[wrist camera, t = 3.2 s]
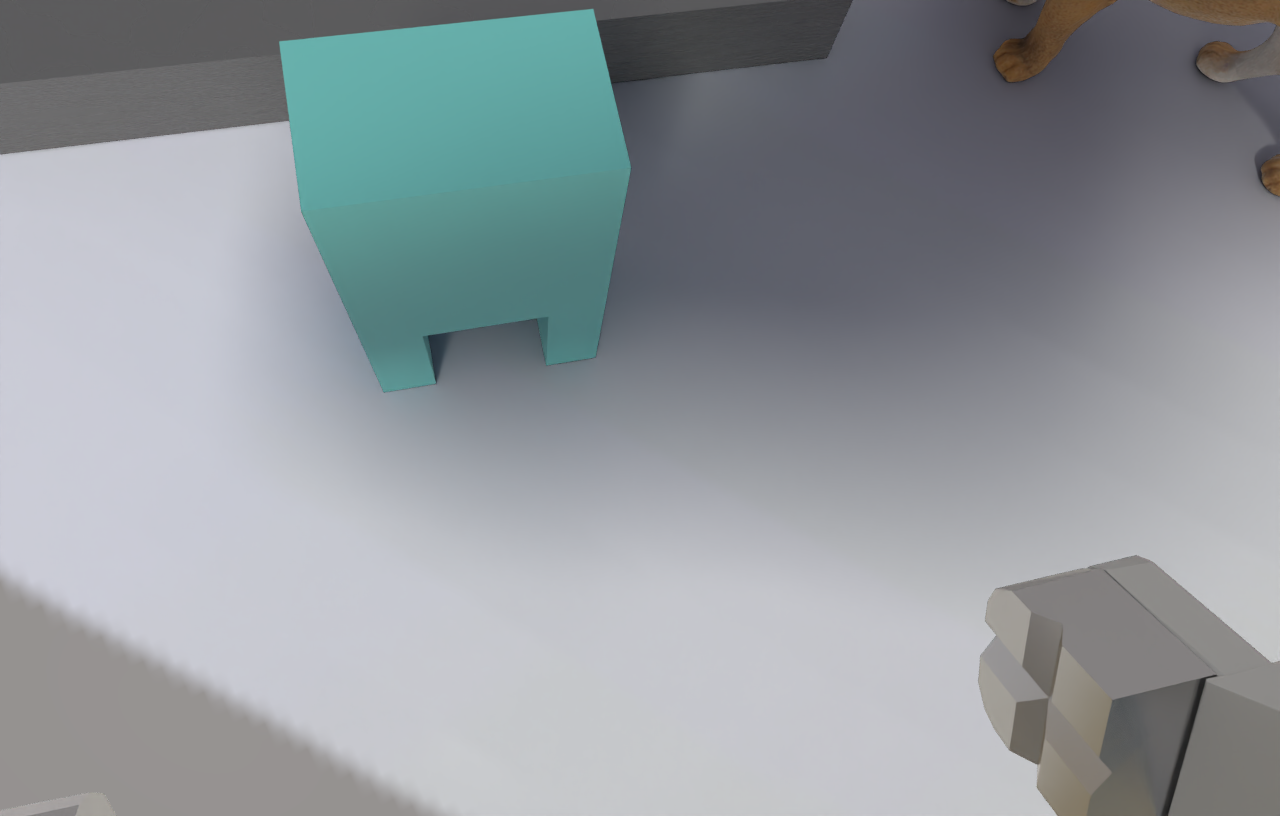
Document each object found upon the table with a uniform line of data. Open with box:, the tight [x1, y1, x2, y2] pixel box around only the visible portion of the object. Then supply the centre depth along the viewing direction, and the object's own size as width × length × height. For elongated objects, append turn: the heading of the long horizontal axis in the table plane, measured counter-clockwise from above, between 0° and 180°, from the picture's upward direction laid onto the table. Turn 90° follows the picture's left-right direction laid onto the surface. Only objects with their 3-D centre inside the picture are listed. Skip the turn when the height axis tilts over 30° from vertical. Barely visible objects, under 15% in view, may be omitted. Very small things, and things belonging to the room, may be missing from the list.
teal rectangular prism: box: [279, 9, 631, 392], centre depth 19 cm, size 5×3×8 cm, turn 102°
